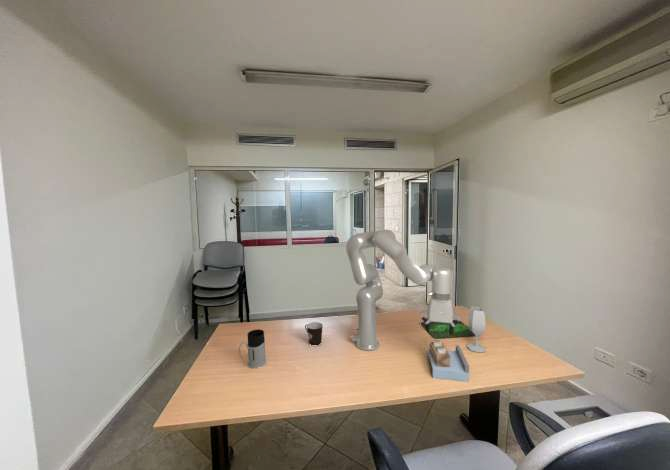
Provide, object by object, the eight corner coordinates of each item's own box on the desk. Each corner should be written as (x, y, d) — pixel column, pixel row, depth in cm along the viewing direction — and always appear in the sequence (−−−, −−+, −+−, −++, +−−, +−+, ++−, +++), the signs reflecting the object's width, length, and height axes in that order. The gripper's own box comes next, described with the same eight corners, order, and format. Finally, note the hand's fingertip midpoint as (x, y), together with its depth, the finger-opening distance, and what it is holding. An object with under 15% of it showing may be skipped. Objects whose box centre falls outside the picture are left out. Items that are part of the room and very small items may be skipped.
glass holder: (270, 360, 127) (269, 331, 126) (247, 377, 115) (245, 344, 114) (257, 356, 132) (256, 327, 130) (234, 371, 120) (232, 339, 118)
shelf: (433, 378, 112) (433, 362, 111) (427, 356, 128) (428, 342, 128) (468, 382, 109) (469, 366, 108) (458, 359, 125) (459, 345, 125)
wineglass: (488, 353, 130) (490, 312, 128) (469, 352, 131) (470, 311, 129) (482, 345, 138) (483, 306, 136) (464, 343, 140) (465, 305, 138)
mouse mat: (433, 340, 145) (433, 338, 145) (417, 323, 167) (417, 321, 167) (480, 336, 148) (480, 335, 148) (458, 320, 169) (458, 319, 169)
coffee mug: (325, 345, 141) (324, 327, 140) (309, 348, 138) (309, 330, 137) (318, 335, 152) (318, 319, 151) (304, 338, 149) (303, 321, 148)
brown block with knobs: (436, 366, 113) (437, 352, 113) (429, 351, 125) (429, 338, 125) (450, 367, 113) (450, 352, 112) (441, 352, 125) (441, 339, 124)
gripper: (421, 297, 114) (419, 334, 116) (464, 300, 111) (462, 338, 113) (419, 291, 122) (418, 327, 124) (459, 294, 118) (457, 330, 120)
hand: (439, 332), depth 118 cm, fingers open, 9 cm apart
